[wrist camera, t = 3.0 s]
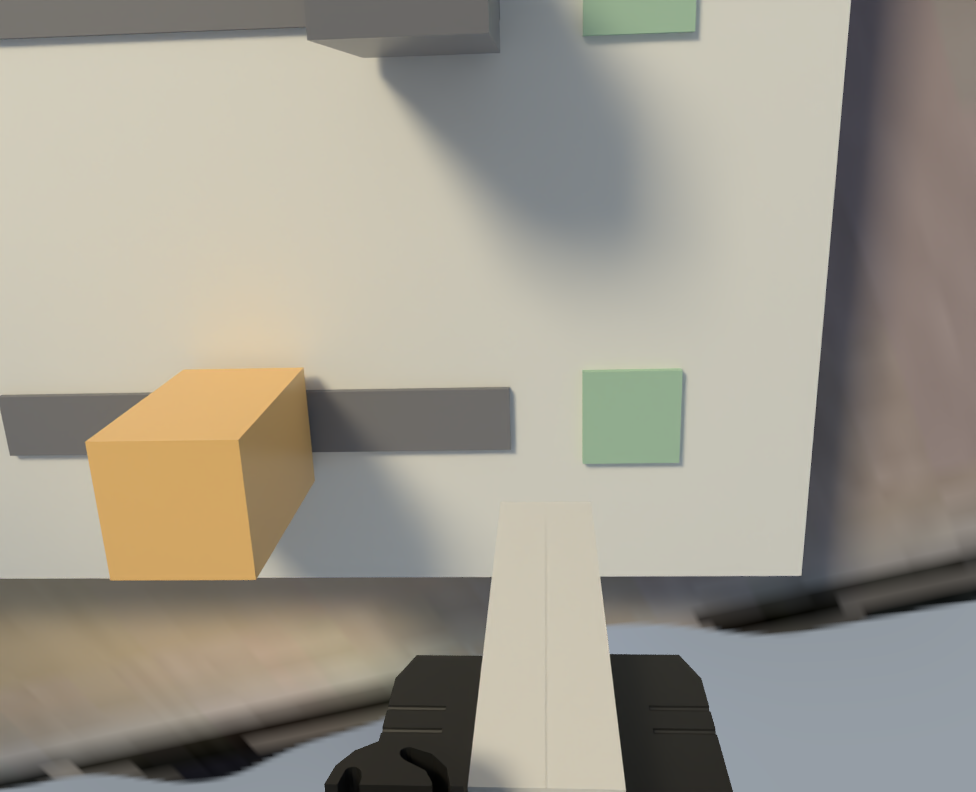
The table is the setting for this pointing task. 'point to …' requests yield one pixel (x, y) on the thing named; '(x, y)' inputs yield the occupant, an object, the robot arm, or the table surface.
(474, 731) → the robot arm
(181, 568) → the block
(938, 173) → the table surface
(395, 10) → the block
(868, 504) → the table surface
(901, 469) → the table surface
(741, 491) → the white flat board
